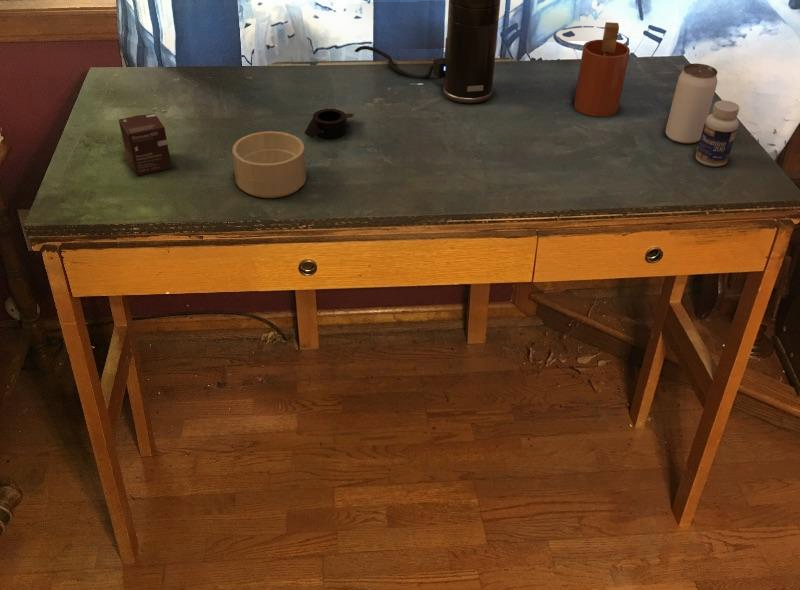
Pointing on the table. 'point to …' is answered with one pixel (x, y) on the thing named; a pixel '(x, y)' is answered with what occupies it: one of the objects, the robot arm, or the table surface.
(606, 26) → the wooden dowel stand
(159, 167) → the box
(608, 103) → the crock
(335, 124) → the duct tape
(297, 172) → the bowl
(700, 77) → the can
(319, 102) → the table surface
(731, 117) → the pill bottle
